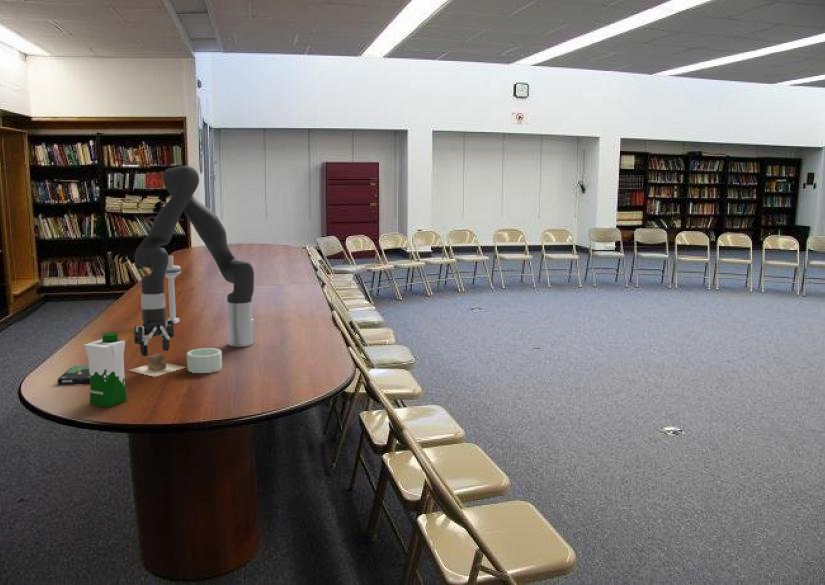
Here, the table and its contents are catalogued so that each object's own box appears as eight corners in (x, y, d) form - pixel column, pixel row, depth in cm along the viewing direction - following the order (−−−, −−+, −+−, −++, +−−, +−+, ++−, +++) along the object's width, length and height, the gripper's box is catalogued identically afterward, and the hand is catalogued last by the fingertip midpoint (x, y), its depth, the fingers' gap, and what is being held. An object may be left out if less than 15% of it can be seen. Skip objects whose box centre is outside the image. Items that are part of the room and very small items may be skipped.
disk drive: (93, 386, 210) (105, 372, 225) (92, 377, 210) (105, 364, 224) (57, 387, 208) (72, 373, 223) (57, 378, 208) (72, 365, 222)
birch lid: (160, 364, 236) (159, 349, 235) (185, 370, 229) (185, 354, 228) (128, 373, 224) (127, 357, 223) (154, 379, 218) (153, 363, 217)
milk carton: (131, 399, 196) (128, 333, 193) (108, 409, 188) (103, 340, 185) (108, 395, 199) (104, 330, 196) (84, 405, 191) (79, 337, 188)
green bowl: (205, 363, 236) (204, 346, 235) (228, 367, 230) (227, 351, 229) (180, 370, 226) (180, 353, 225) (204, 375, 221) (203, 358, 220)
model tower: (185, 320, 303) (183, 255, 298) (177, 324, 295) (174, 257, 289) (168, 320, 303) (165, 254, 298) (159, 323, 295) (156, 256, 290)
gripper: (163, 301, 231) (164, 347, 233) (127, 308, 219) (129, 355, 221) (178, 304, 227) (179, 350, 230) (143, 310, 215) (145, 359, 218)
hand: (155, 353), depth 226 cm, fingers open, 8 cm apart
